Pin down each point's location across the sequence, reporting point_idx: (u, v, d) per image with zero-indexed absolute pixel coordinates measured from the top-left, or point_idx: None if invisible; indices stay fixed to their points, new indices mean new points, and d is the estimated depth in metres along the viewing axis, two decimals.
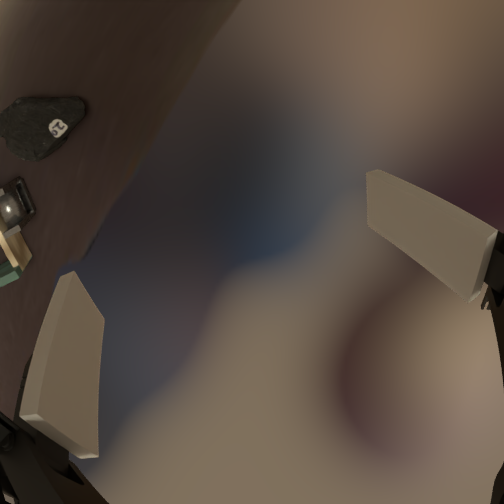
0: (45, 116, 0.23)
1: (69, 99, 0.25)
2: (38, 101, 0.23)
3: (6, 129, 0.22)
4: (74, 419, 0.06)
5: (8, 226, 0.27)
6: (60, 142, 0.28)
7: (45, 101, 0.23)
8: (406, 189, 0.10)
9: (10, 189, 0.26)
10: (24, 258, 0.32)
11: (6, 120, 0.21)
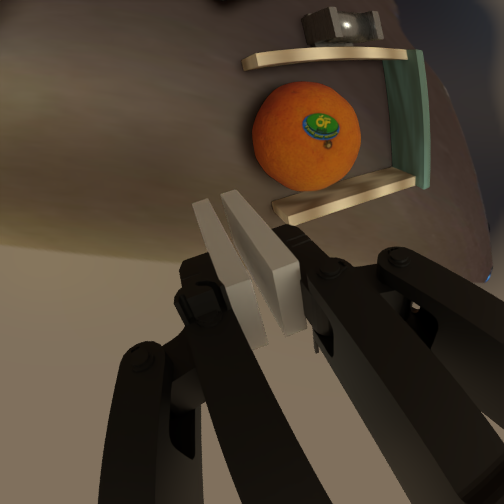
0: None
1: None
2: None
3: None
4: None
5: (368, 31, 0.21)
6: None
7: None
8: (237, 212, 0.11)
9: None
10: None
11: None
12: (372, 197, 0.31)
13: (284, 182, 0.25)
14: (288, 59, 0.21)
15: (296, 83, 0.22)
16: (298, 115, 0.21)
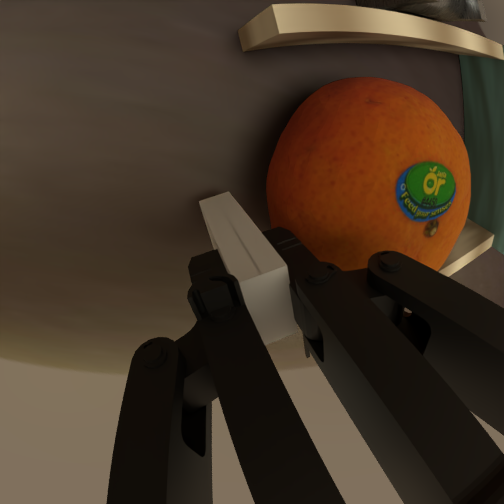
0: None
1: None
2: None
3: None
4: None
5: (463, 4, 0.08)
6: None
7: None
8: (228, 215, 0.11)
9: None
10: None
11: None
12: None
13: None
14: (345, 25, 0.08)
15: (367, 80, 0.09)
16: (389, 164, 0.08)
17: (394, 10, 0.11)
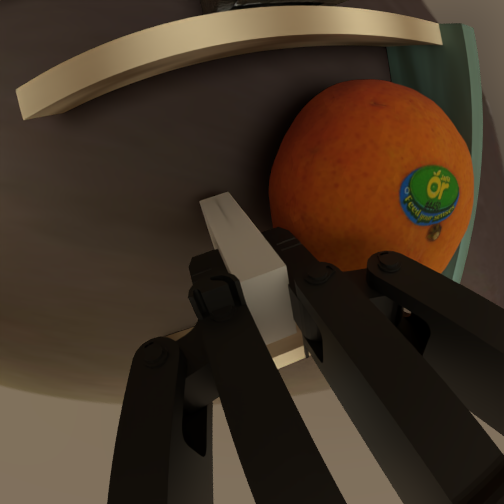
0: None
1: None
2: None
3: None
4: None
5: None
6: None
7: None
8: (227, 215, 0.11)
9: None
10: None
11: None
12: None
13: None
14: (94, 75, 0.07)
15: (372, 82, 0.09)
16: (393, 167, 0.08)
17: (256, 5, 0.10)
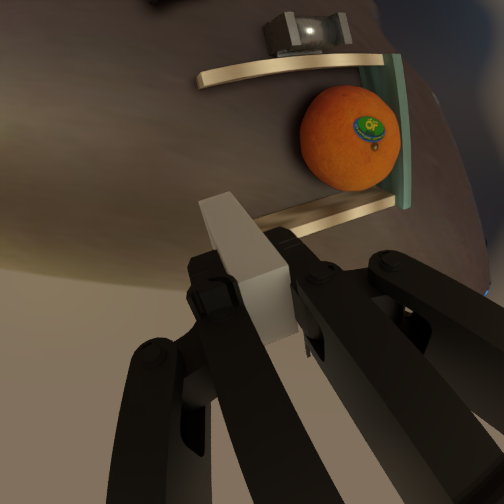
0: None
1: None
2: None
3: None
4: None
5: (334, 36, 0.20)
6: None
7: None
8: (229, 214, 0.11)
9: None
10: None
11: None
12: (342, 220, 0.29)
13: (331, 181, 0.25)
14: (238, 75, 0.20)
15: (344, 86, 0.22)
16: (350, 117, 0.21)
17: None
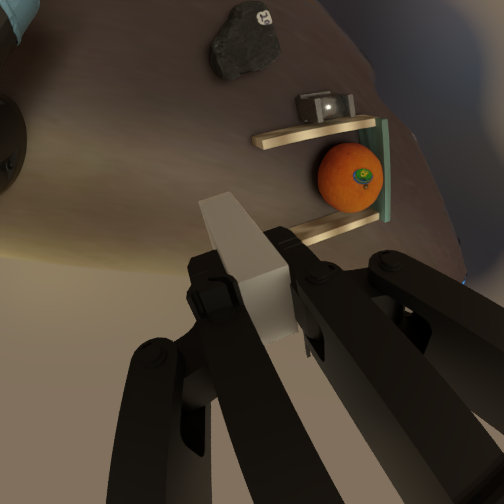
0: (250, 21, 0.26)
1: (238, 6, 0.26)
2: (228, 26, 0.26)
3: (237, 65, 0.28)
4: None
5: (344, 110, 0.35)
6: None
7: (232, 20, 0.26)
8: (229, 214, 0.11)
9: (312, 98, 0.34)
10: (367, 116, 0.38)
11: (229, 60, 0.28)
12: (343, 231, 0.45)
13: (337, 207, 0.41)
14: (284, 142, 0.35)
15: (348, 146, 0.37)
16: (351, 169, 0.36)
17: None
